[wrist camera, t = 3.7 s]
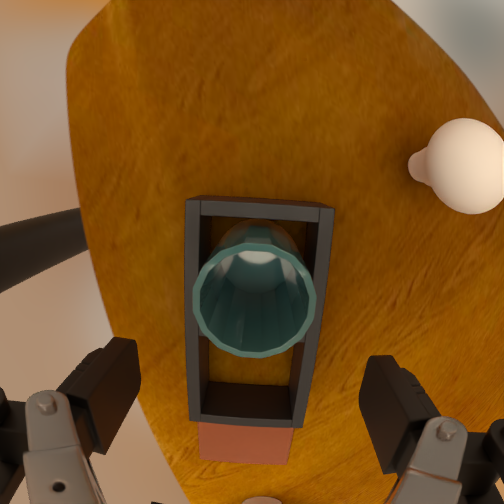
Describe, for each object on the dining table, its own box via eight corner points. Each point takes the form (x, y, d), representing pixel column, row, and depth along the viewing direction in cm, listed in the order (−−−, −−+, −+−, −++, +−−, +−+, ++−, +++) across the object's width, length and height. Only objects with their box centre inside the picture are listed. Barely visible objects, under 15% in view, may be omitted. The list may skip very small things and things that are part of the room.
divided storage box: (198, 388, 29) (189, 420, 25) (199, 195, 25) (185, 199, 20) (297, 394, 29) (302, 428, 24) (321, 202, 25) (335, 208, 20)
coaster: (200, 456, 32) (199, 459, 31) (197, 394, 30) (196, 397, 29) (286, 462, 32) (286, 464, 31) (298, 401, 29) (298, 403, 29)
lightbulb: (392, 121, 23) (465, 94, 13) (450, 145, 24) (534, 138, 13) (377, 191, 25) (447, 202, 14) (436, 211, 25) (518, 232, 14)
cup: (216, 292, 27) (193, 352, 17) (218, 216, 26) (192, 239, 16) (292, 297, 27) (308, 360, 17) (299, 221, 26) (322, 247, 16)
